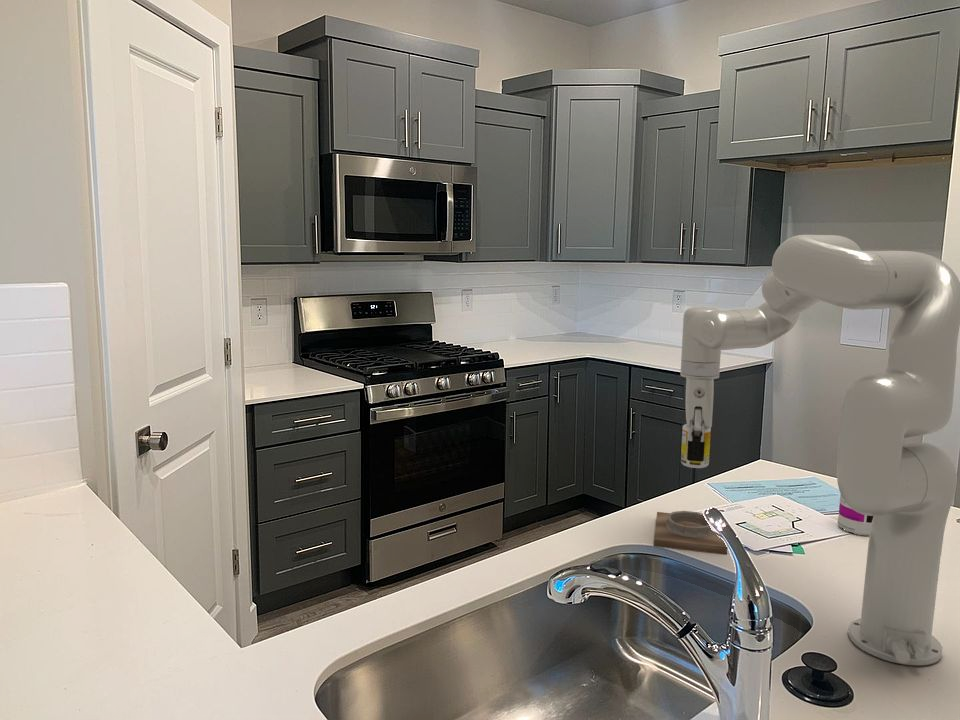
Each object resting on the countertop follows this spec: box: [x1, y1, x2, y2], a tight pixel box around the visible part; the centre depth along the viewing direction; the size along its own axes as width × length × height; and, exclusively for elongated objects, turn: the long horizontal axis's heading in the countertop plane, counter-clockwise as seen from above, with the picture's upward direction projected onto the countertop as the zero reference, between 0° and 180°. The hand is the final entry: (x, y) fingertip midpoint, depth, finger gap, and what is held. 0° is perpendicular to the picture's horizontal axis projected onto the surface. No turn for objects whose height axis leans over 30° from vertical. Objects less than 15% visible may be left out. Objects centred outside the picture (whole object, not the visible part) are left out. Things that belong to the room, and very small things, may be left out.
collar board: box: [653, 510, 728, 555], centre depth 158 cm, size 16×14×4 cm
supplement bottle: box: [680, 414, 712, 469], centre depth 155 cm, size 6×6×10 cm
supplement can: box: [837, 493, 873, 537], centre depth 162 cm, size 8×8×15 cm
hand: (695, 455), depth 155 cm, fingers closed on supplement bottle, 5 cm apart
